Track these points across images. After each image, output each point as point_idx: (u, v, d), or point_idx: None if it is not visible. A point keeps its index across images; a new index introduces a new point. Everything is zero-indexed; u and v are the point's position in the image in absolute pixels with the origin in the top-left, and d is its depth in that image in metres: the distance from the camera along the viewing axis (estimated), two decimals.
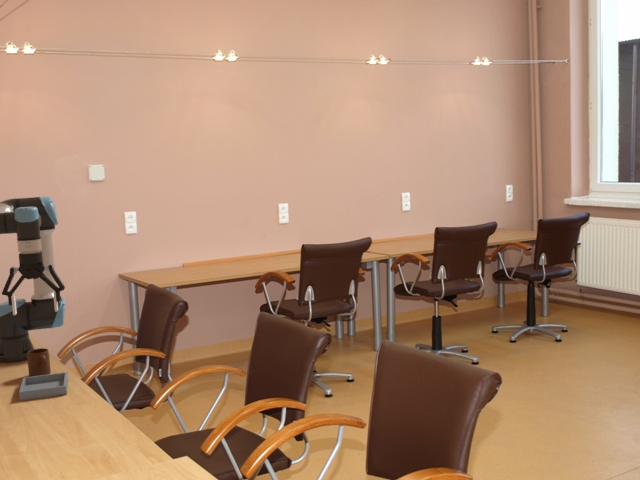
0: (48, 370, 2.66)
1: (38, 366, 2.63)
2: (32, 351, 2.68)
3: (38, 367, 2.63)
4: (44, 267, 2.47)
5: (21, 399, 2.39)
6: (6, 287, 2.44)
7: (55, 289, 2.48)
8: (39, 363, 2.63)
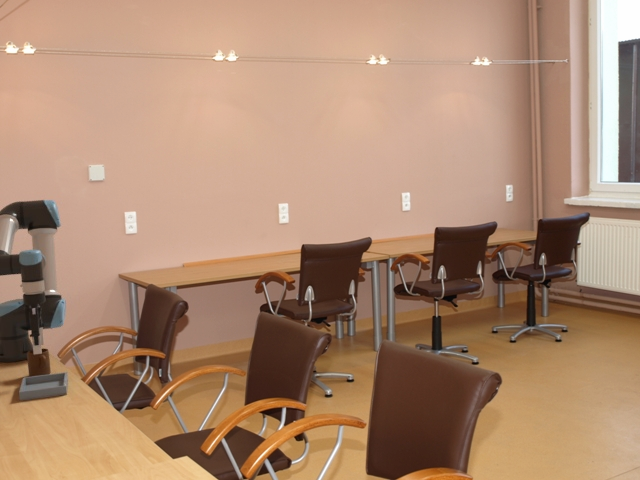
0: (48, 370, 2.66)
1: (38, 366, 2.63)
2: (32, 351, 2.68)
3: (38, 367, 2.63)
4: None
5: (21, 399, 2.39)
6: None
7: None
8: (39, 363, 2.63)
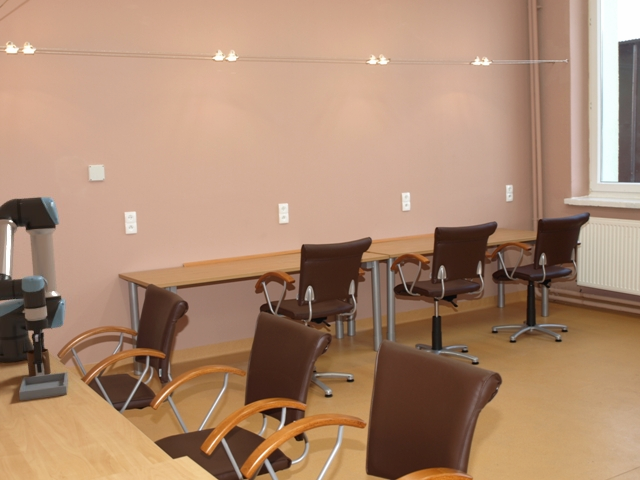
0: (48, 370, 2.66)
1: None
2: (32, 351, 2.67)
3: None
4: None
5: (21, 399, 2.39)
6: None
7: None
8: None
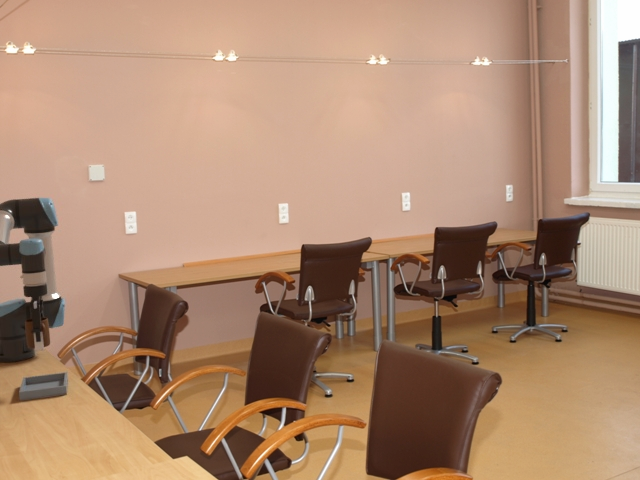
0: (48, 340, 2.48)
1: None
2: (30, 320, 2.50)
3: None
4: None
5: (21, 399, 2.39)
6: None
7: None
8: None
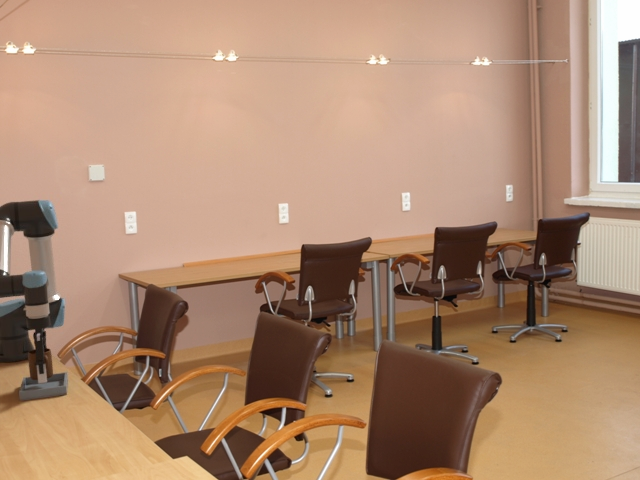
0: (50, 371, 2.49)
1: None
2: (33, 351, 2.51)
3: None
4: (36, 335, 2.43)
5: (21, 399, 2.39)
6: None
7: None
8: None
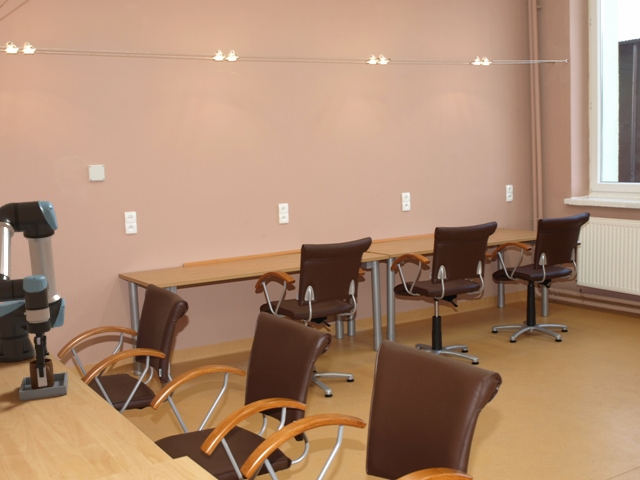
0: (52, 381, 2.50)
1: None
2: (34, 361, 2.51)
3: None
4: None
5: (21, 399, 2.39)
6: None
7: None
8: None
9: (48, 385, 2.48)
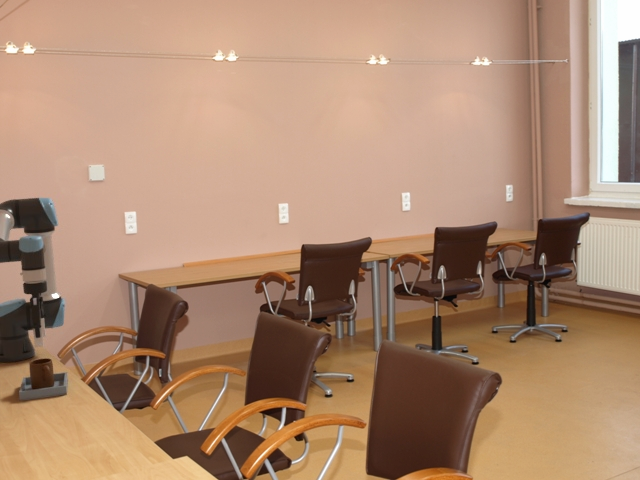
0: (52, 381, 2.50)
1: (41, 377, 2.46)
2: (34, 361, 2.51)
3: (41, 378, 2.46)
4: None
5: (21, 399, 2.39)
6: None
7: None
8: (42, 374, 2.46)
9: (48, 385, 2.48)
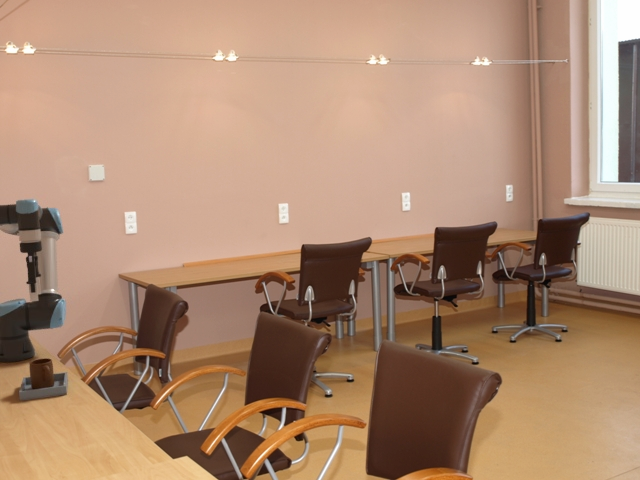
0: (52, 381, 2.50)
1: (41, 377, 2.46)
2: (34, 361, 2.51)
3: (41, 378, 2.46)
4: None
5: (21, 399, 2.39)
6: None
7: None
8: (42, 374, 2.46)
9: (48, 385, 2.48)
